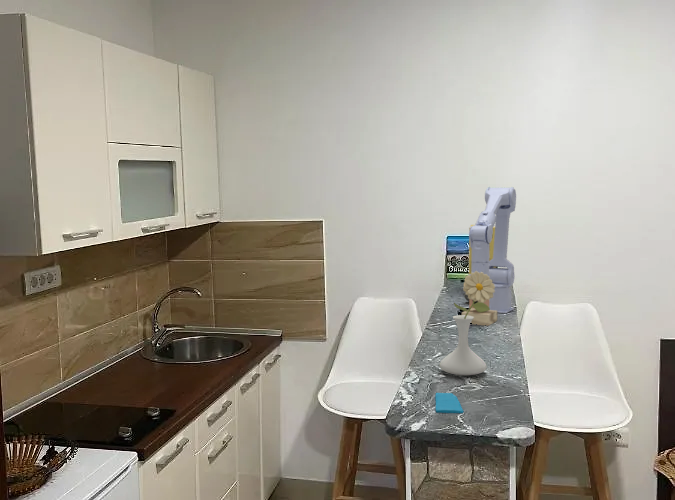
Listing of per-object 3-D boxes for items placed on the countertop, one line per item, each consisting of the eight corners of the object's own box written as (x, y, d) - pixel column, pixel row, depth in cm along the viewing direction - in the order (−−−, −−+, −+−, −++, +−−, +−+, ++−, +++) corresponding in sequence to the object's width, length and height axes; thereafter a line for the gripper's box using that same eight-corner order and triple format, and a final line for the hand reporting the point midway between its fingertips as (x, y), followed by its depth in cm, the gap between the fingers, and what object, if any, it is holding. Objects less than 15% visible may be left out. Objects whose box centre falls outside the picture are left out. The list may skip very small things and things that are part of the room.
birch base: (471, 318, 240) (471, 308, 240) (497, 320, 236) (497, 310, 235) (461, 323, 233) (461, 312, 232) (488, 325, 228) (488, 315, 228)
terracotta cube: (474, 305, 237) (475, 290, 237) (489, 306, 234) (489, 291, 234) (469, 307, 233) (469, 292, 232) (483, 309, 230) (483, 294, 230)
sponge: (462, 393, 154) (435, 389, 155) (464, 411, 142) (435, 407, 143) (461, 400, 154) (434, 396, 155) (463, 419, 143) (434, 414, 143)
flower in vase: (439, 378, 168) (440, 273, 165) (439, 366, 179) (439, 267, 177) (495, 380, 166) (497, 274, 164) (491, 367, 177) (493, 268, 175)
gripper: (476, 259, 240) (476, 298, 242) (460, 263, 228) (460, 305, 229) (496, 260, 237) (496, 300, 238) (481, 264, 224) (481, 307, 226)
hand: (479, 302), depth 233 cm, fingers closed on terracotta cube, 5 cm apart
